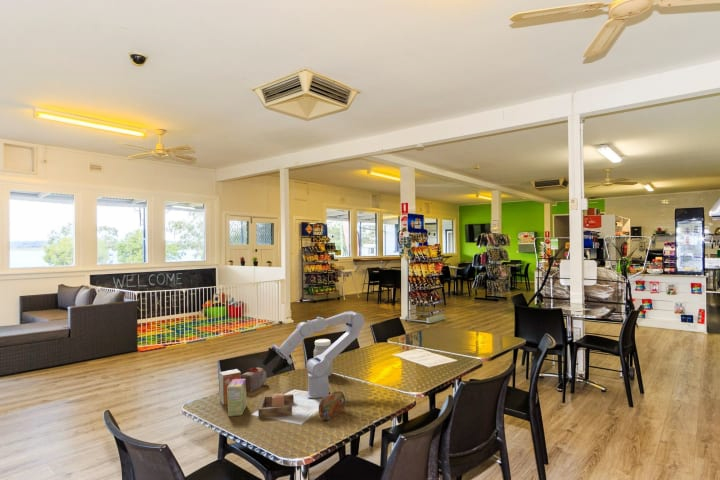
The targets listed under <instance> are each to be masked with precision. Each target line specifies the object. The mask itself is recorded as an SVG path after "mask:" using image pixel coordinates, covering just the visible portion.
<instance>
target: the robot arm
mask: <svg viewBox="0 0 720 480" xmlns="http://www.w3.org/2000/svg"><path fill="white" fill-rule="evenodd" d="M340 323H345V326H346V331H345V333H343V334H342V335H341V336H340V337H338V339H337V340H335V341H334V342H333V343H331V344H330V345H331V346H330V347H329V348H328V349H327V350H325V351H324V352H323V353H322V354H320V355H317V356H316V357H314V356H313V358H309V359H308V360H307V361H306V364H305V368H306V370H307V371H308V373H307V379H308V380H307V384H308V385H307V387H308V388H307V390H308V391H307V398H308V399H316V398H319V399H320V398H324V397H326V396H328V395H329V392H330V386H329V376H328V375H325V374H324V373H325V371H326V369H327V368H328V367H329V363H330V362H331V361H332V362H333V360H334V359H335V358H336V357H337V356H338V355H340V354H341V353H342V352H343V351H344V350H346V348H347V347H348V346H350V344H352V343H353V342H354V341H355V340H356V339H357V337H358V336H359V334H360V332H361V330H362V328H363V327H364V326H365V317H364V315H363V314H362V313H360V312H355V311H352V310H349V311H343V312H341V313H339V314H335V315H333V316H330V317H328V318H324V317H320V316H316V318H315V319H312V320H310V319H308V320H307V321H306V322H305V321H302V322H299V323H297V324H296V327H295V330H294V331H293V332H292V333H290V335H288V337H287V338H286V339H285V340H284V341H282V344H280V346H277V345H276V344H274V343H273V344H272V345H270V347H269V348H268V350H267V352H266V355H265V358H264V359H263V361H262V364H263V365H264V366H268V364H269V363H270V362H272V360H274V359H275V358H277V357H279V356H280V358H279V360H278V362H277V364H276V365H275V366H274V367H273V368H272V370H271V373H272V374H273V375H276V374H277V373H279V372H280V371H282V370H283V369H286V368H289V367H290V365H291V364H292V363H294V360H293V359H292V358H291V357H290V355H291V354H292V353H293V352H294V351H295V350H296V349H297V348H298V346H299V345H300V344H301V343H302V342H303V341H304V340H305V338H306V337H311V336H312V334H314V333H317V332H321V331H324V330H326V329H327V327H328V326H332V325H336V324H340Z"/></svg>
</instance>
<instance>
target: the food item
mask: <svg viewBox="0 0 720 480" xmlns="http://www.w3.org/2000/svg"><path fill="white" fill-rule="evenodd" d="M241 379H246V393H248V394H250V393H252V392H253V391H254V390H258V389H260V388H261V387H262V386H263V385H265V383H266V381H267V372H266V370H264V368H261V367H249V368H247V372H245V373H243V374H242V373H241Z"/></svg>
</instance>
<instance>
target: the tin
mask: <svg viewBox="0 0 720 480" xmlns="http://www.w3.org/2000/svg"><path fill="white" fill-rule="evenodd" d="M345 403H346V398H345V394H344V393H343V391H337V390H335V391H333V392H331V393H330V394H329V395H328V396H326V397H322V398H321V400H320V401H319V404H318V415H319V417H320V418H321V419H322V420H326V421H330V420H332V419H333V418H335V417H336V416H338V415H339V414H340V413H342V412H343V410H344V409H345Z"/></svg>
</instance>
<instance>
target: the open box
mask: <svg viewBox="0 0 720 480" xmlns="http://www.w3.org/2000/svg"><path fill="white" fill-rule="evenodd" d="M272 396H273V395H266V396H265V395H263V396H262V397H261V401H260V404H259V407H258V409H257V411H258V413H257V414H258V419H265V418H266V419H267V418H276V417H290V416H293V406H292V405H288V404H294V402H295V400H294V399H295V398H294V394H291V393H290V394H284V406H281V407H272ZM266 406H267V407H266ZM268 406H269V407H268ZM270 406H271V407H270Z"/></svg>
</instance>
